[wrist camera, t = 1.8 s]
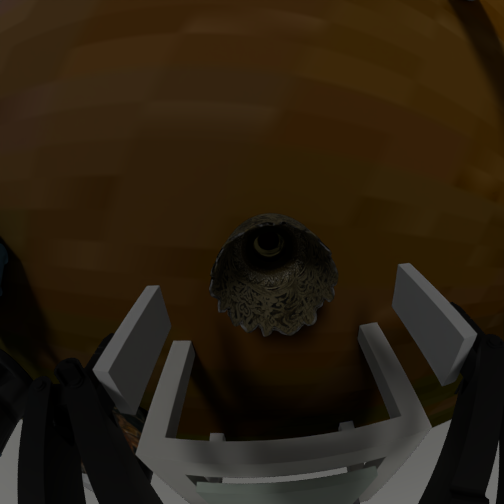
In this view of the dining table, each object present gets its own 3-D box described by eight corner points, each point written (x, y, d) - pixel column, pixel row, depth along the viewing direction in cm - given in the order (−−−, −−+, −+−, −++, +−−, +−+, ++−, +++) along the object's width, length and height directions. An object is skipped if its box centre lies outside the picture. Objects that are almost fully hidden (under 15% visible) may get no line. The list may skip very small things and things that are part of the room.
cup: (253, 178, 21) (253, 197, 14) (329, 226, 22) (362, 266, 15) (208, 254, 23) (188, 305, 16) (280, 293, 25) (289, 353, 17)
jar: (179, 435, 35) (163, 513, 22) (131, 439, 38) (112, 503, 24) (128, 393, 32) (95, 480, 18) (85, 401, 34) (53, 469, 20)
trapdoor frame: (213, 438, 35) (203, 523, 21) (173, 340, 27) (130, 471, 13) (350, 426, 34) (370, 509, 20) (376, 322, 26) (438, 442, 12)
